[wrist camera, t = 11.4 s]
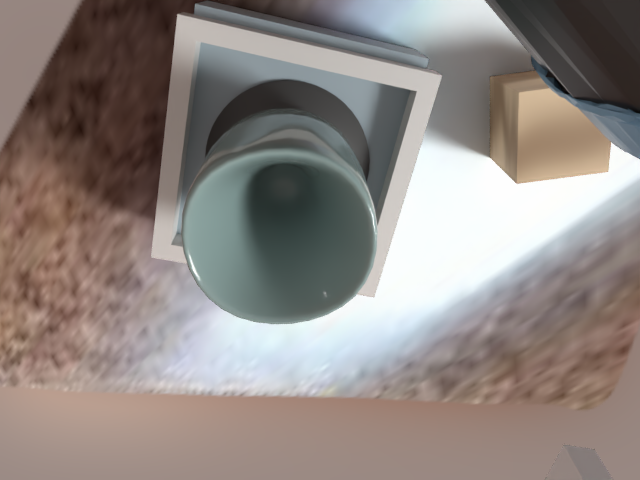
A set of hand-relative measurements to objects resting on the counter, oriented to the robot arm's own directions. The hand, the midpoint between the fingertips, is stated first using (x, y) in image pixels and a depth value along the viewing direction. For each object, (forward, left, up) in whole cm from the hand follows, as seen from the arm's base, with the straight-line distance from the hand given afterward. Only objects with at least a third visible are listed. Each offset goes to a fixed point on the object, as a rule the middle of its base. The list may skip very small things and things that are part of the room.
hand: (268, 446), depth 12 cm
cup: (0, 0, -20) cm, 21 cm away
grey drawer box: (0, 0, -24) cm, 25 cm away
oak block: (-5, +14, -25) cm, 29 cm away
